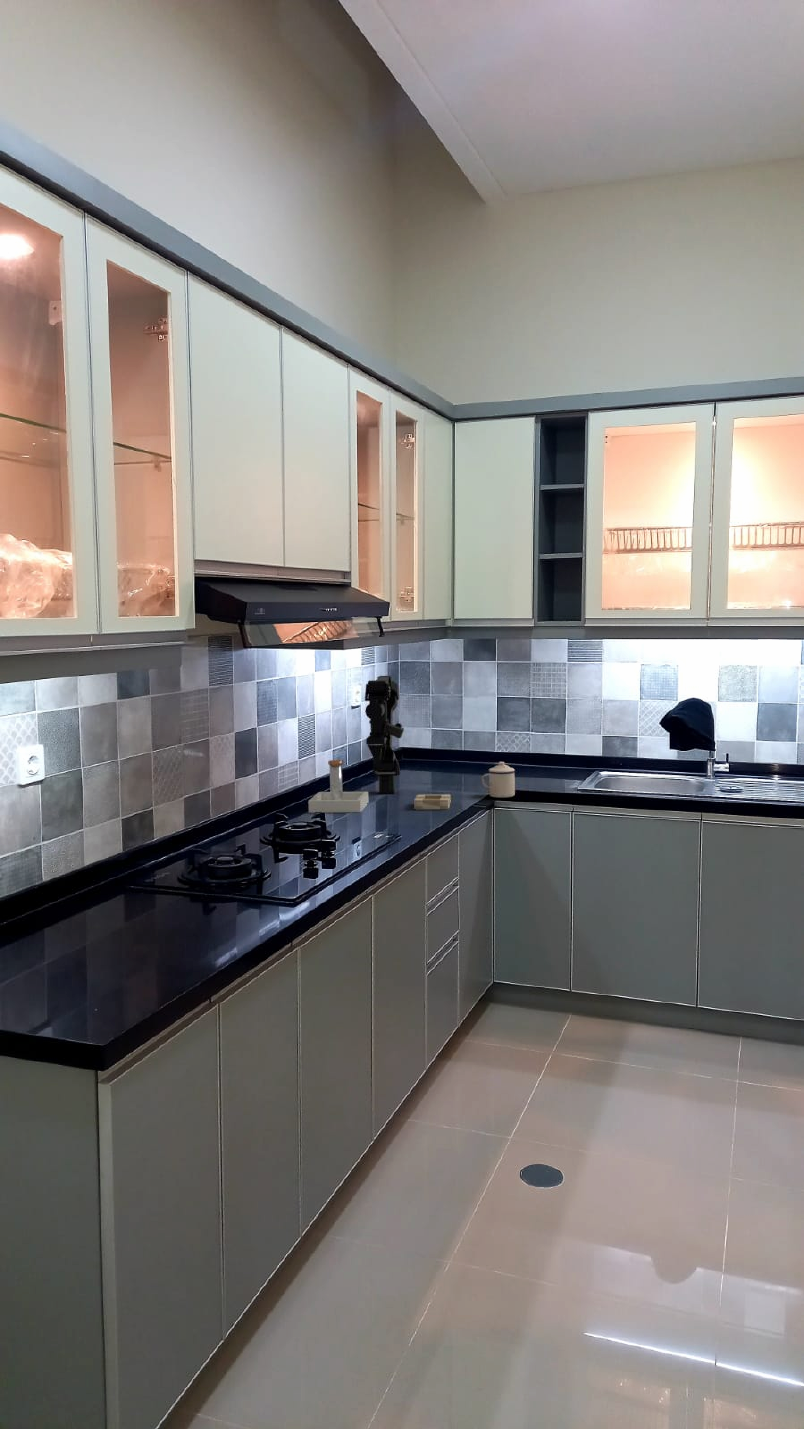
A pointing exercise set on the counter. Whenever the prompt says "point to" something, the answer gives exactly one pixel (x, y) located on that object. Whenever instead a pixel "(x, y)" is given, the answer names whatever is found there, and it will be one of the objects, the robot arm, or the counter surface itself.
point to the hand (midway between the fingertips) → (379, 762)
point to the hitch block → (432, 801)
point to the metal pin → (336, 779)
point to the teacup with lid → (500, 781)
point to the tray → (338, 802)
